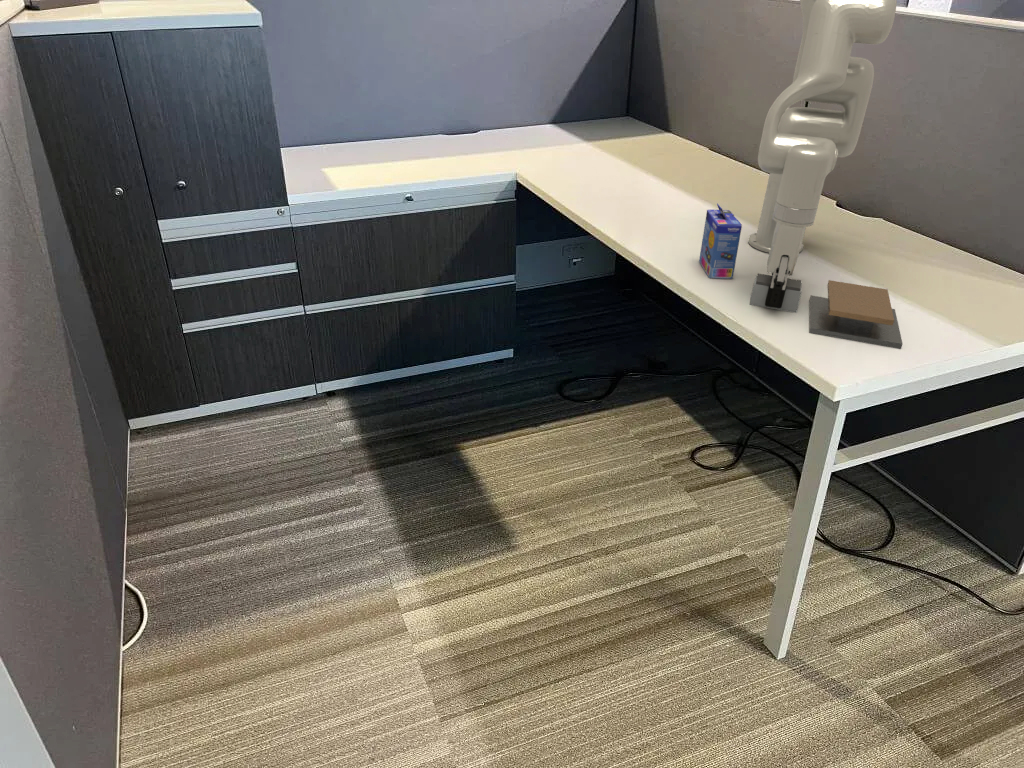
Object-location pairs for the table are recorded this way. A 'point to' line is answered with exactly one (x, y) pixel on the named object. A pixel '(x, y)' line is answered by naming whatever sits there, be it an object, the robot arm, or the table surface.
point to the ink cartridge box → (720, 243)
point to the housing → (790, 295)
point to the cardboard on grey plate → (855, 314)
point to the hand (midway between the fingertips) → (773, 300)
